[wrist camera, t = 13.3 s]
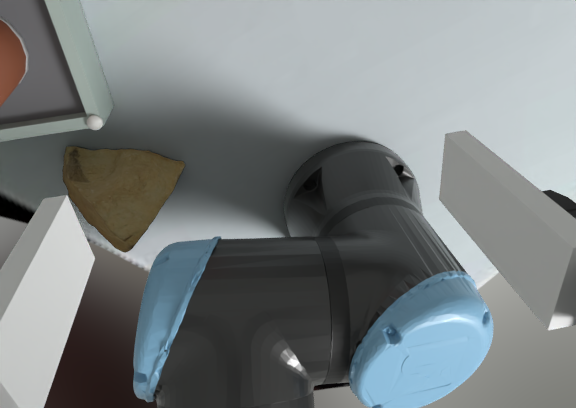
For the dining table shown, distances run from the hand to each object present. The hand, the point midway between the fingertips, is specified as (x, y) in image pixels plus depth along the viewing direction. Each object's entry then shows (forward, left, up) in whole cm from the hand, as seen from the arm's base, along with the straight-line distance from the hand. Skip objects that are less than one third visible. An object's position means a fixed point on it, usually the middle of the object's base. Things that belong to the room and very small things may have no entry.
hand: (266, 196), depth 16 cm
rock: (-11, +13, -29) cm, 34 cm away
